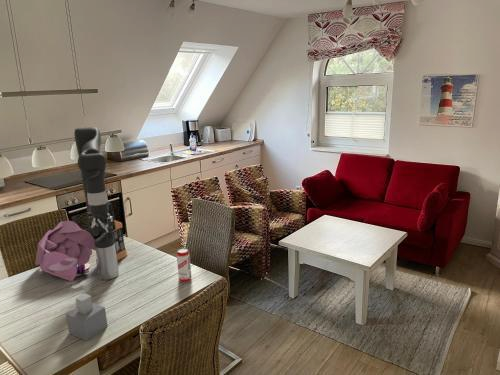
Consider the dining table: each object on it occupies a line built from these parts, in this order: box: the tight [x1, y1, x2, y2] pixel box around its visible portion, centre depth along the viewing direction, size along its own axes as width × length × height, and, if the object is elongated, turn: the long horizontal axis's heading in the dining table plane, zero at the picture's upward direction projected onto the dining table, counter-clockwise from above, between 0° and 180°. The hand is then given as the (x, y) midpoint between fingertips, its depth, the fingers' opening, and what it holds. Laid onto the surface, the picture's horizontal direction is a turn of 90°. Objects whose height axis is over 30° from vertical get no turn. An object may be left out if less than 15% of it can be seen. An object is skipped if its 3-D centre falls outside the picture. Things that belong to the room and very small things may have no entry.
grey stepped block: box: [65, 293, 109, 342], centre depth 151 cm, size 10×10×15 cm
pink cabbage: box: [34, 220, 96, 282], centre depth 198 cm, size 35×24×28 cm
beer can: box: [176, 247, 192, 284], centre depth 186 cm, size 6×6×16 cm
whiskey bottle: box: [100, 202, 128, 262], centre depth 211 cm, size 10×10×32 cm
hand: (103, 237), depth 161 cm, fingers open, 8 cm apart
